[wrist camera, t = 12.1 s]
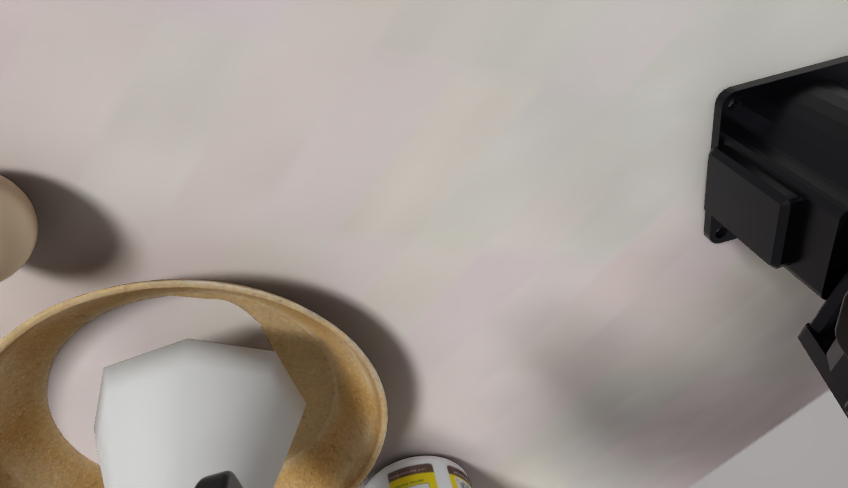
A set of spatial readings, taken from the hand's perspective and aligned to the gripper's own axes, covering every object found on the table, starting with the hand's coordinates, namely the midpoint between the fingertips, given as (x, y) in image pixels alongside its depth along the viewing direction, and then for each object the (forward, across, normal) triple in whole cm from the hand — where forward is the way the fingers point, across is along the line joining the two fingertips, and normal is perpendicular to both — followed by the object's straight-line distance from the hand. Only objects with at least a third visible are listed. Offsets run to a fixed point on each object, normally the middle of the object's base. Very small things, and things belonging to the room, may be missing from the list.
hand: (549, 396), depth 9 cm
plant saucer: (+14, +11, +10) cm, 20 cm away
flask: (+11, +10, +9) cm, 17 cm away
